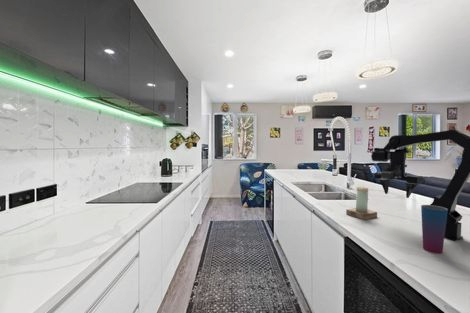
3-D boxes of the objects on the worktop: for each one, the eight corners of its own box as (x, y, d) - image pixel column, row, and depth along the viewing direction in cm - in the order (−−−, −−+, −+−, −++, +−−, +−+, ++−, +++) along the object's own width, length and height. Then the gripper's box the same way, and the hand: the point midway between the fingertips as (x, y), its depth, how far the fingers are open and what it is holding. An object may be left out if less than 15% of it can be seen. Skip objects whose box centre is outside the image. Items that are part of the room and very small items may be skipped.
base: (377, 217, 112) (377, 212, 112) (363, 219, 108) (363, 214, 108) (359, 211, 121) (359, 207, 121) (346, 213, 117) (346, 209, 117)
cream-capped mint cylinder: (369, 212, 112) (370, 188, 112) (359, 212, 112) (360, 188, 111) (363, 209, 117) (364, 187, 117) (353, 209, 117) (354, 187, 116)
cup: (419, 244, 81) (420, 203, 80) (445, 249, 77) (446, 206, 76) (419, 250, 76) (421, 207, 75) (447, 256, 71) (449, 211, 71)
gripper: (366, 161, 107) (365, 193, 108) (409, 164, 90) (408, 202, 91) (381, 161, 112) (380, 191, 112) (425, 163, 94) (424, 199, 95)
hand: (396, 195), depth 102 cm, fingers open, 9 cm apart
